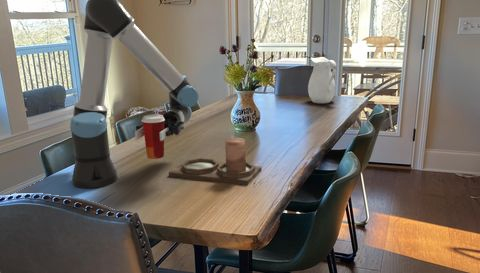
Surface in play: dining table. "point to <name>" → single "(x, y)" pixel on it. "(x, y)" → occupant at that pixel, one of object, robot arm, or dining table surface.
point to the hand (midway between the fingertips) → (148, 136)
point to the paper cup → (153, 135)
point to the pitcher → (322, 80)
